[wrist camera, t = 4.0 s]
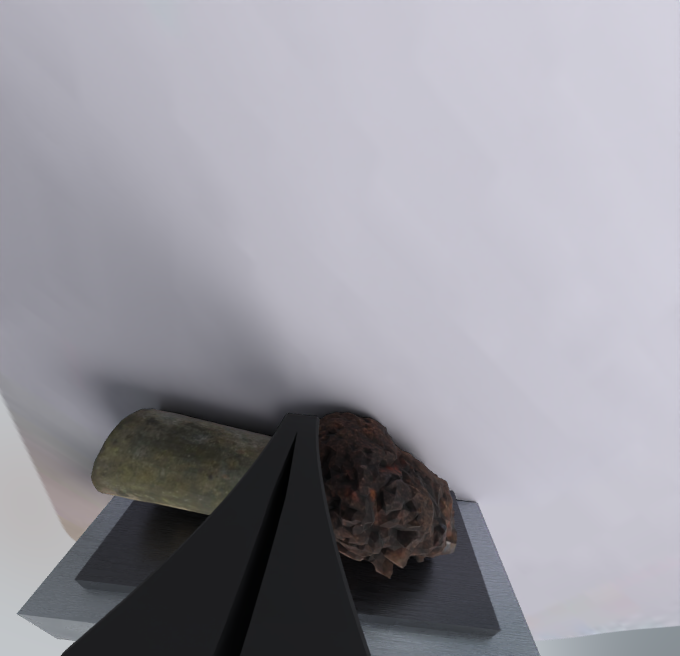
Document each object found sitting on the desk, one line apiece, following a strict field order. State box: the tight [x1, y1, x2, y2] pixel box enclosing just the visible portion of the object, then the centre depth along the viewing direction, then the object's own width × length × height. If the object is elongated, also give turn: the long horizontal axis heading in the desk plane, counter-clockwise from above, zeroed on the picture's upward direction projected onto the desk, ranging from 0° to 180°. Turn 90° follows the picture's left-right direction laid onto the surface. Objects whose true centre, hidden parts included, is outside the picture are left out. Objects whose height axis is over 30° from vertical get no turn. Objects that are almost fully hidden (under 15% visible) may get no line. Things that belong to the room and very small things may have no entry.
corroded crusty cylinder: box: [91, 409, 457, 579], centre depth 12 cm, size 18×7×6 cm, turn 79°
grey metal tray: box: [17, 491, 540, 656], centre depth 14 cm, size 5×24×7 cm, turn 85°
